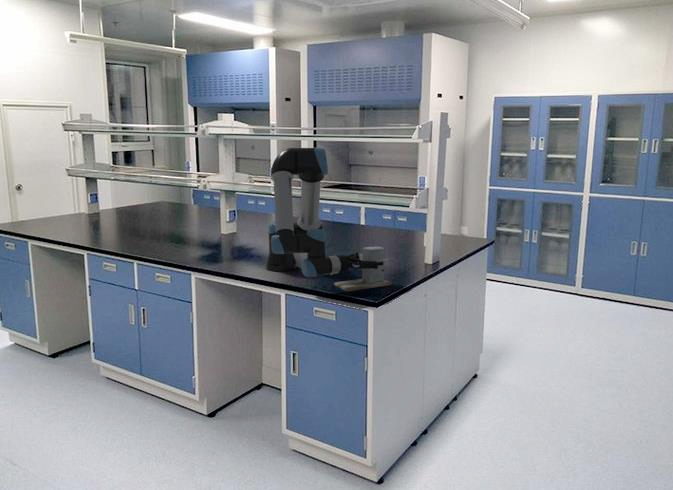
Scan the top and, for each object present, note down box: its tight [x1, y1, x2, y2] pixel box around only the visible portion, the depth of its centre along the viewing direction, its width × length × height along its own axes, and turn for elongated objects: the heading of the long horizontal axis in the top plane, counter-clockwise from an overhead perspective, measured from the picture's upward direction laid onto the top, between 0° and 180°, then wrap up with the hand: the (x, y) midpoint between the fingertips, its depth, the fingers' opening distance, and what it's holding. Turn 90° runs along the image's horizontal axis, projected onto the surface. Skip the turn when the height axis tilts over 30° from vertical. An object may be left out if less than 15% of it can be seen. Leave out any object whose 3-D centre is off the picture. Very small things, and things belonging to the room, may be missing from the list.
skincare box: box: [361, 246, 385, 283], centre depth 240 cm, size 8×6×15 cm
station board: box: [333, 278, 392, 292], centre depth 239 cm, size 12×22×1 cm, turn 118°
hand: (379, 258), depth 241 cm, fingers open, 13 cm apart
